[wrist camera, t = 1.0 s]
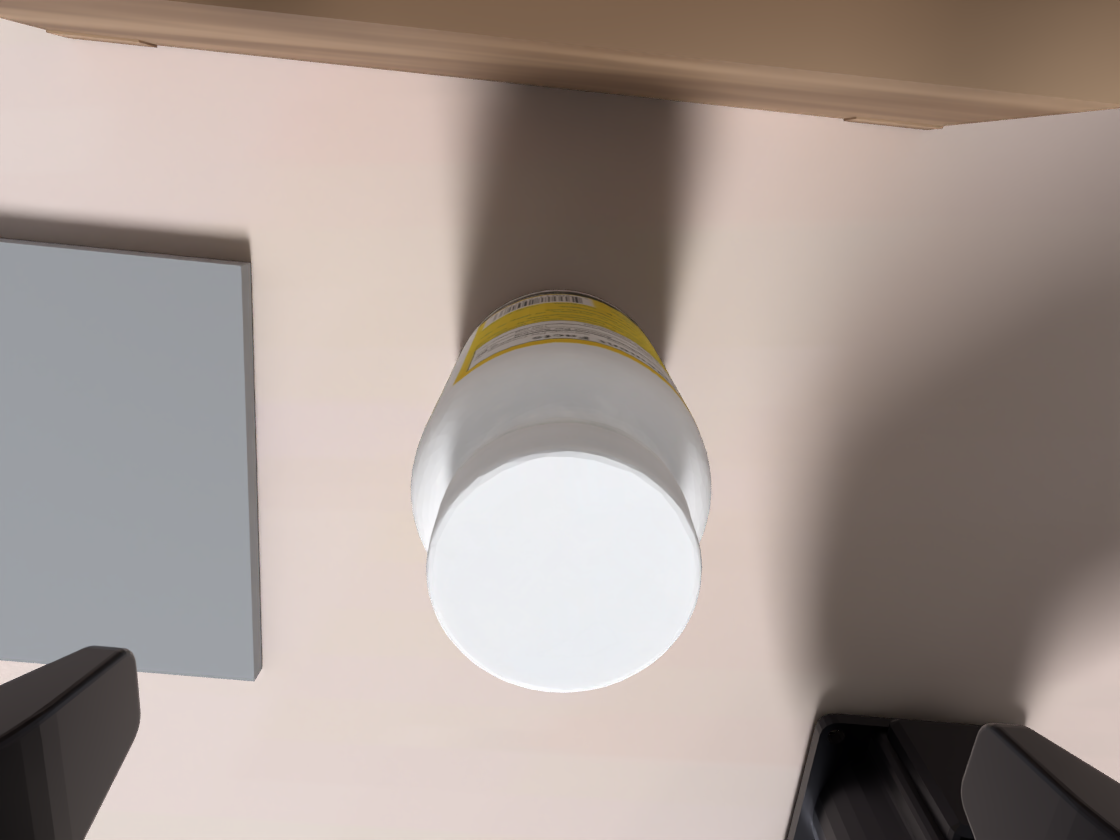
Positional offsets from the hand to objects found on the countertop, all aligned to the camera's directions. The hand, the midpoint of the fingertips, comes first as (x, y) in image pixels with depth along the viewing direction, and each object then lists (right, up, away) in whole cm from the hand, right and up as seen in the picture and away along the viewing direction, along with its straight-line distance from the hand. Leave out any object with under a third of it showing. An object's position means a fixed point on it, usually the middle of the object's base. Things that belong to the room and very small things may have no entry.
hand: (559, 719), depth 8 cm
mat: (-14, +2, +13) cm, 19 cm away
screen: (-1, +13, +9) cm, 16 cm away
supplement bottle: (0, +4, +12) cm, 13 cm away
